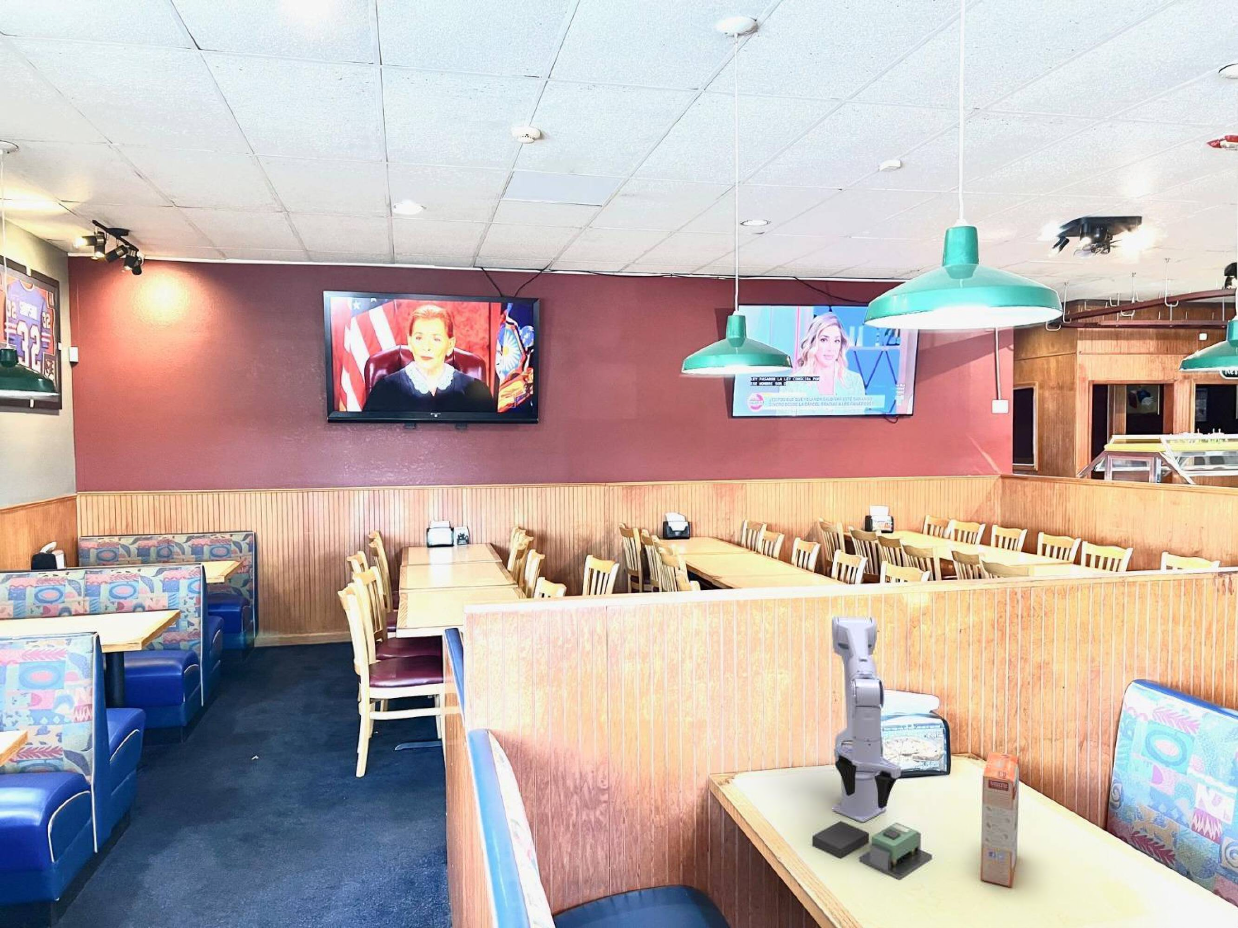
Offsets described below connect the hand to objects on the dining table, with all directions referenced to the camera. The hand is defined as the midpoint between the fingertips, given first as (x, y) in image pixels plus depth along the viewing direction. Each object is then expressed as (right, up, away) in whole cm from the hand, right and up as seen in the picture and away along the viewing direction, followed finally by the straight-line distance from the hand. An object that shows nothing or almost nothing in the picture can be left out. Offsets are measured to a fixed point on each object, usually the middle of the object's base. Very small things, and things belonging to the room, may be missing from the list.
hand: (866, 800), depth 168 cm
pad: (-5, -10, +2) cm, 11 cm away
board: (+4, -8, -5) cm, 10 cm away
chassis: (+4, -10, -5) cm, 12 cm away
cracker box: (+24, -10, -8) cm, 27 cm away
